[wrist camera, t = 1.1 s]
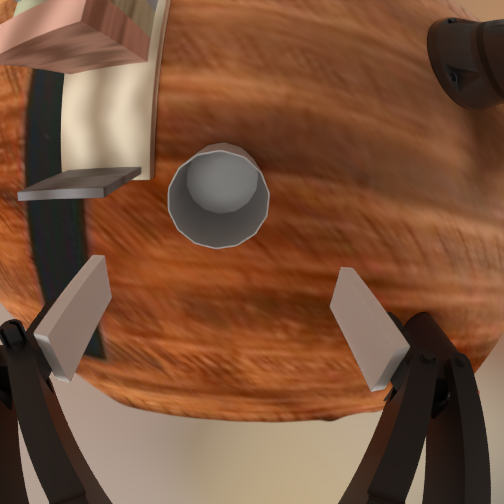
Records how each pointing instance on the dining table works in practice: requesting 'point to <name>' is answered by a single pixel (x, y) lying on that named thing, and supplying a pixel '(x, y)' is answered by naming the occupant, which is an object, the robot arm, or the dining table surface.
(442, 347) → the bottle
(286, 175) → the dining table surface
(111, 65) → the pastel book stand
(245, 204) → the cup
